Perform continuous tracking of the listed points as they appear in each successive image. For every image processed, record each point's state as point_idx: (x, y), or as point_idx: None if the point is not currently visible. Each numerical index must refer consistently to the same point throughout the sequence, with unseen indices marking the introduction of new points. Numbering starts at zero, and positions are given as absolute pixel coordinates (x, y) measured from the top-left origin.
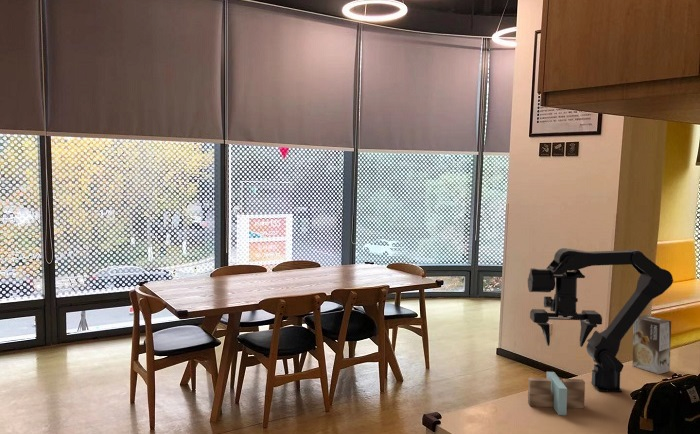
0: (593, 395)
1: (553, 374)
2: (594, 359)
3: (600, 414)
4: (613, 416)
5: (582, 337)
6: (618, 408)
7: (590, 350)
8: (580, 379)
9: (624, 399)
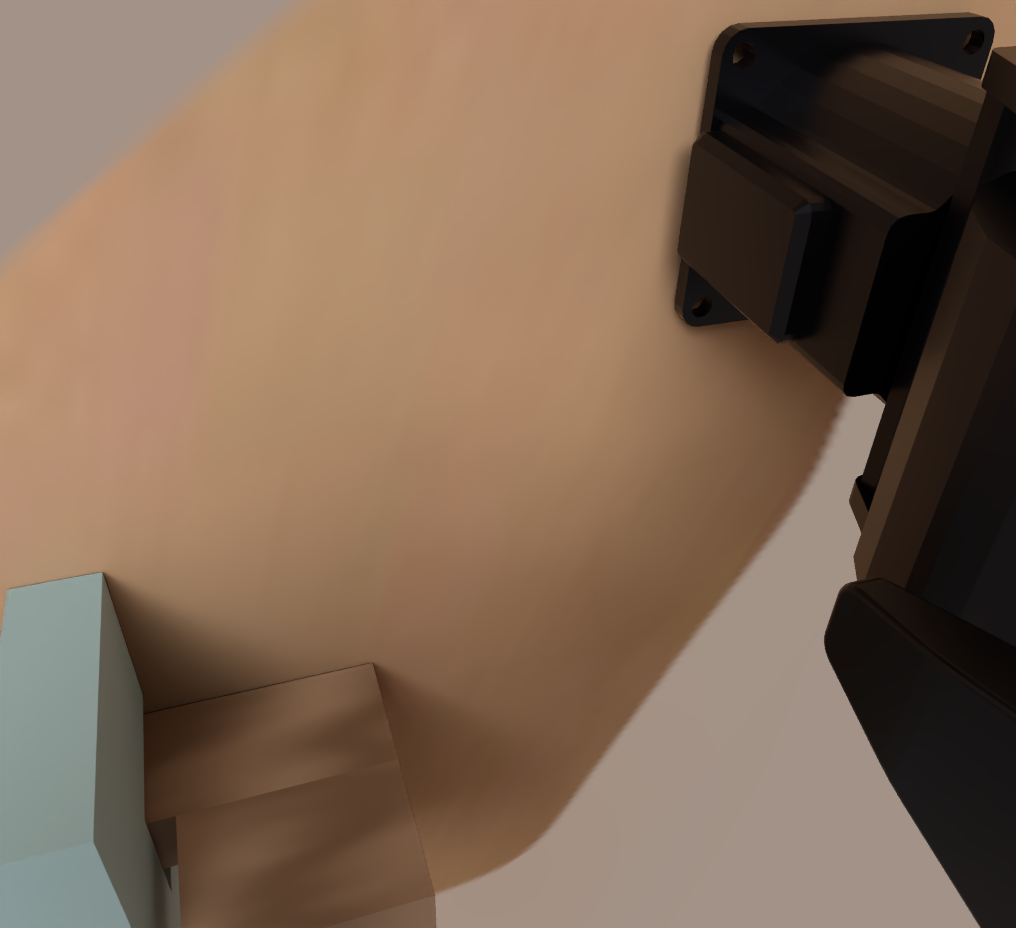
0: (566, 426)
1: (80, 914)
2: (865, 534)
3: (471, 754)
4: (552, 750)
5: (1004, 910)
6: (655, 625)
7: (969, 513)
8: (411, 904)
9: (807, 445)
